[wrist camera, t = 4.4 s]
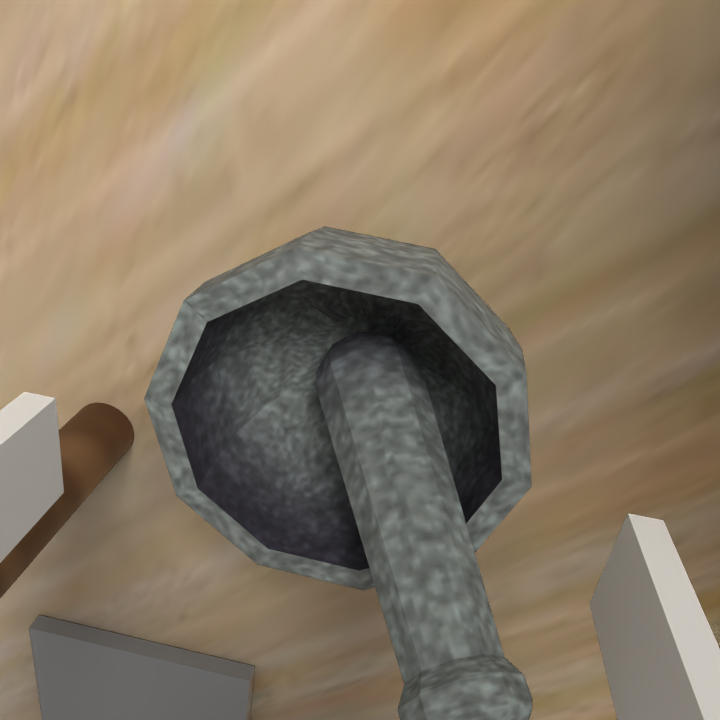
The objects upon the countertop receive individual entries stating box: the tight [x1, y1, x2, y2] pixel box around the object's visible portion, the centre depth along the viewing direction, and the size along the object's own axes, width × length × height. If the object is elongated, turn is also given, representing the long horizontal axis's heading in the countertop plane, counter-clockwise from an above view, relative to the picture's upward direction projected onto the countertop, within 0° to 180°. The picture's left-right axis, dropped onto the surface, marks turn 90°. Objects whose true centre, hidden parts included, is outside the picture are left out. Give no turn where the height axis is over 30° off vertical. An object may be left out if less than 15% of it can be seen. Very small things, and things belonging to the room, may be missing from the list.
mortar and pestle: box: [144, 227, 533, 720], centre depth 17 cm, size 11×9×12 cm
